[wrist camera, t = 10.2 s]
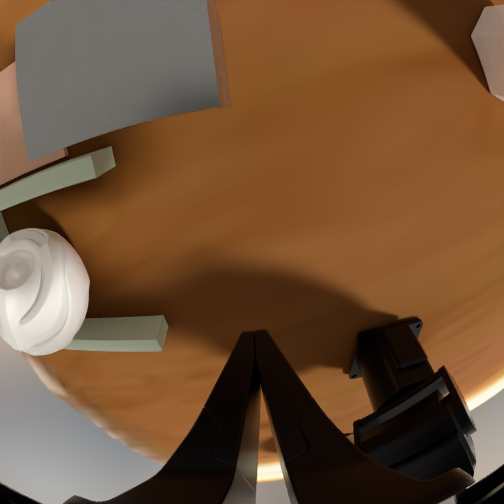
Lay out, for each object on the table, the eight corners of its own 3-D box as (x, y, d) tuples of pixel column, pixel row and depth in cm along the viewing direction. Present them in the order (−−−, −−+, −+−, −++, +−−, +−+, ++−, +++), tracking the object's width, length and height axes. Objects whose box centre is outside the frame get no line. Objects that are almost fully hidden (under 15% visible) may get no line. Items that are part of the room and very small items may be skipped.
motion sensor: (104, 219, 16) (38, 296, 9) (113, 310, 19) (78, 392, 13) (17, 207, 15) (-52, 263, 8) (34, 290, 18) (-10, 354, 12)
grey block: (231, 105, 13) (220, 106, 6) (117, 130, 13) (23, 165, 6) (218, 13, 10) (199, -63, 3) (105, 44, 10) (10, 20, 3)
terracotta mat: (68, 155, 13) (65, 156, 13) (-4, 186, 14) (-7, 188, 13) (53, 39, 9) (49, 38, 9) (-20, 91, 10) (-24, 92, 9)
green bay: (111, 146, 13) (90, 155, 11) (168, 326, 20) (162, 351, 18) (-13, 195, 14) (-33, 208, 12) (49, 328, 20) (38, 346, 18)
